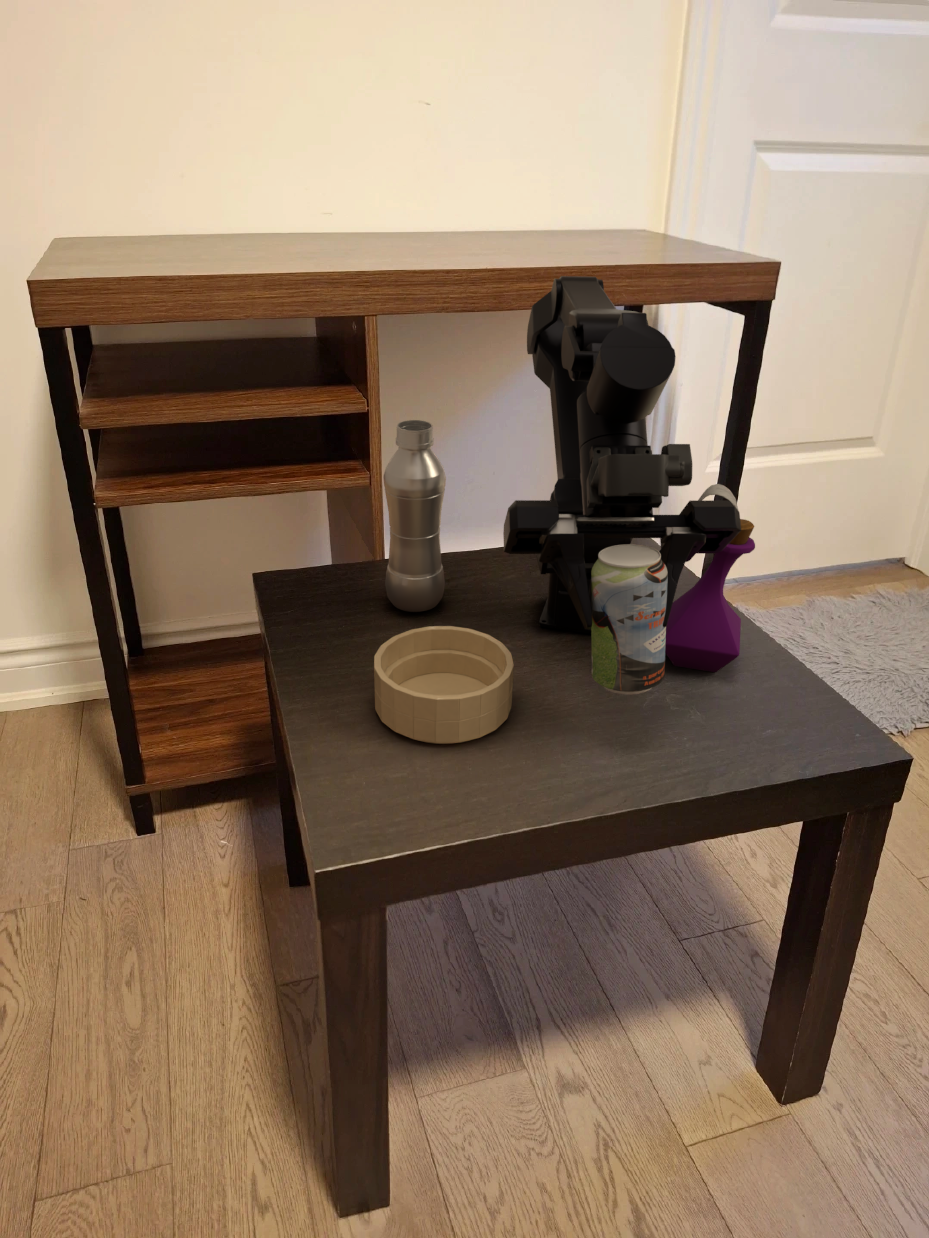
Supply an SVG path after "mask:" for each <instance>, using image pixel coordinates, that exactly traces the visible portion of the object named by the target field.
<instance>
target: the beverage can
mask: <svg viewBox="0 0 929 1238" xmlns="http://www.w3.org/2000/svg"><path fill="white" fill-rule="evenodd" d="M659 551H660V550H658V549H656V548H655V547H651V546H649V545H643V544H636V543H635V544H633V543H630V544H624V545H615V546H611V547H607V548H605V549H603V550H601V551H600V552H599V554H598V560H597V561H596V562H595V564H594V565H593V567H592V570H591V606H592V627H591V677H592V679H593V681H594V682H595V683H596V684H598V685H600V686H601V687H603V688H604V689H605V690H607V691H609V692H611V693H615V694H618V695H639V694H644V693H646V692H648V691H650V690H652V689H653V688H655V687H657V686H659V685H660V684H661V683H662V682H663V680H664V679H665V674H666V673H665V671H666V670H665V669H666V653H665V642H666V627H665V628H664V627H663V621H664V617H665V611H666V602H667V580H668V572H667V568H666V566H665V564H664V563H663V561H662V560H661V554H660V552H659Z"/></svg>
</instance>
